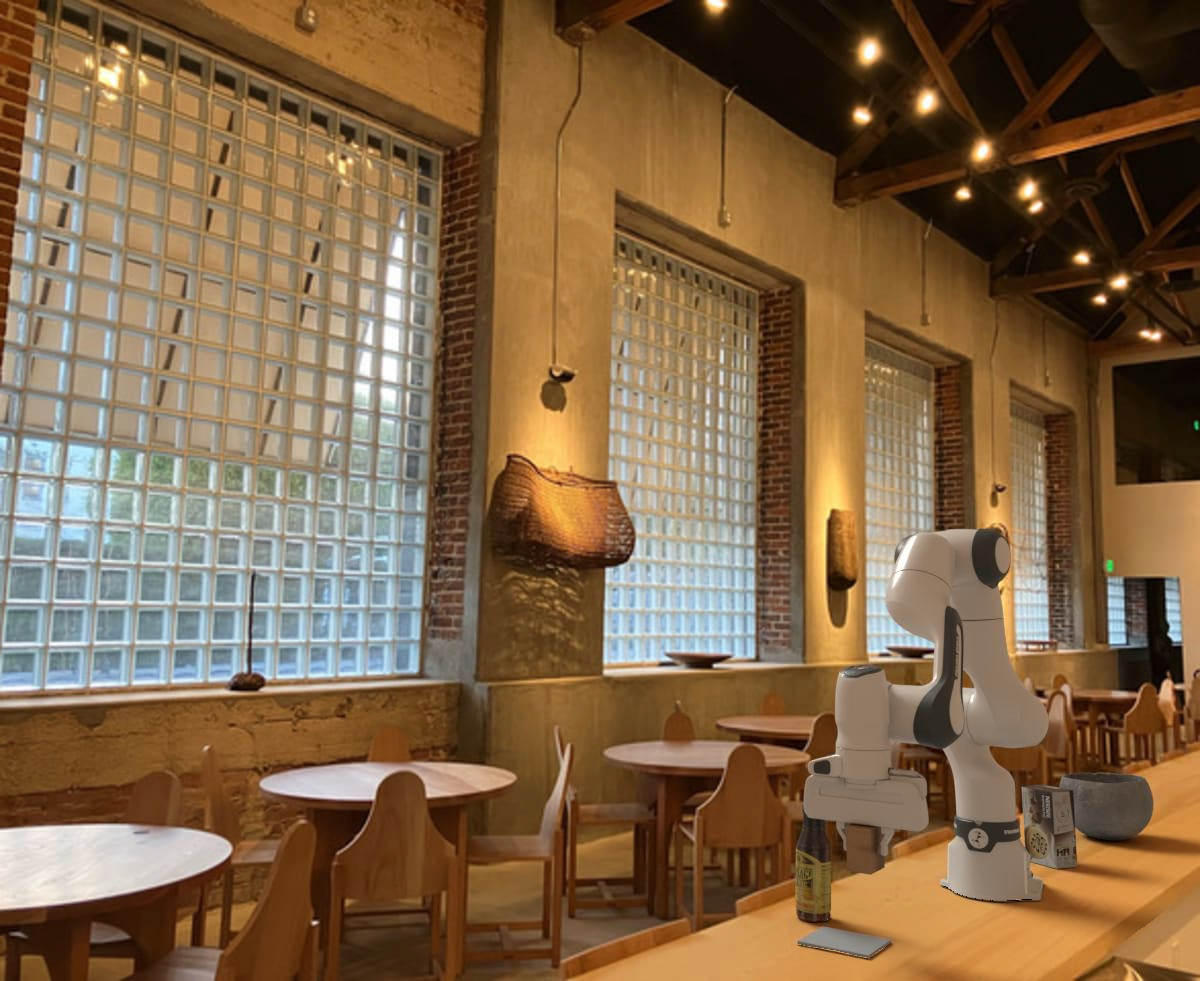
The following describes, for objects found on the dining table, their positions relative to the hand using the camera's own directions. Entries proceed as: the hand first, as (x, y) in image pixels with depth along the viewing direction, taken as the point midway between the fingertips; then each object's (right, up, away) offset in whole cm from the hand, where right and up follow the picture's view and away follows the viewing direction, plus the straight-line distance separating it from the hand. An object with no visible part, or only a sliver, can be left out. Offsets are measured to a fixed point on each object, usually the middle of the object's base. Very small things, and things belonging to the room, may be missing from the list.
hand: (865, 852), depth 168 cm
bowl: (+80, -26, +83) cm, 118 cm away
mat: (-3, -15, +1) cm, 15 cm away
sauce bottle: (-5, -17, +15) cm, 23 cm away
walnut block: (0, -3, 0) cm, 3 cm away
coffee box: (+55, -23, +57) cm, 82 cm away
